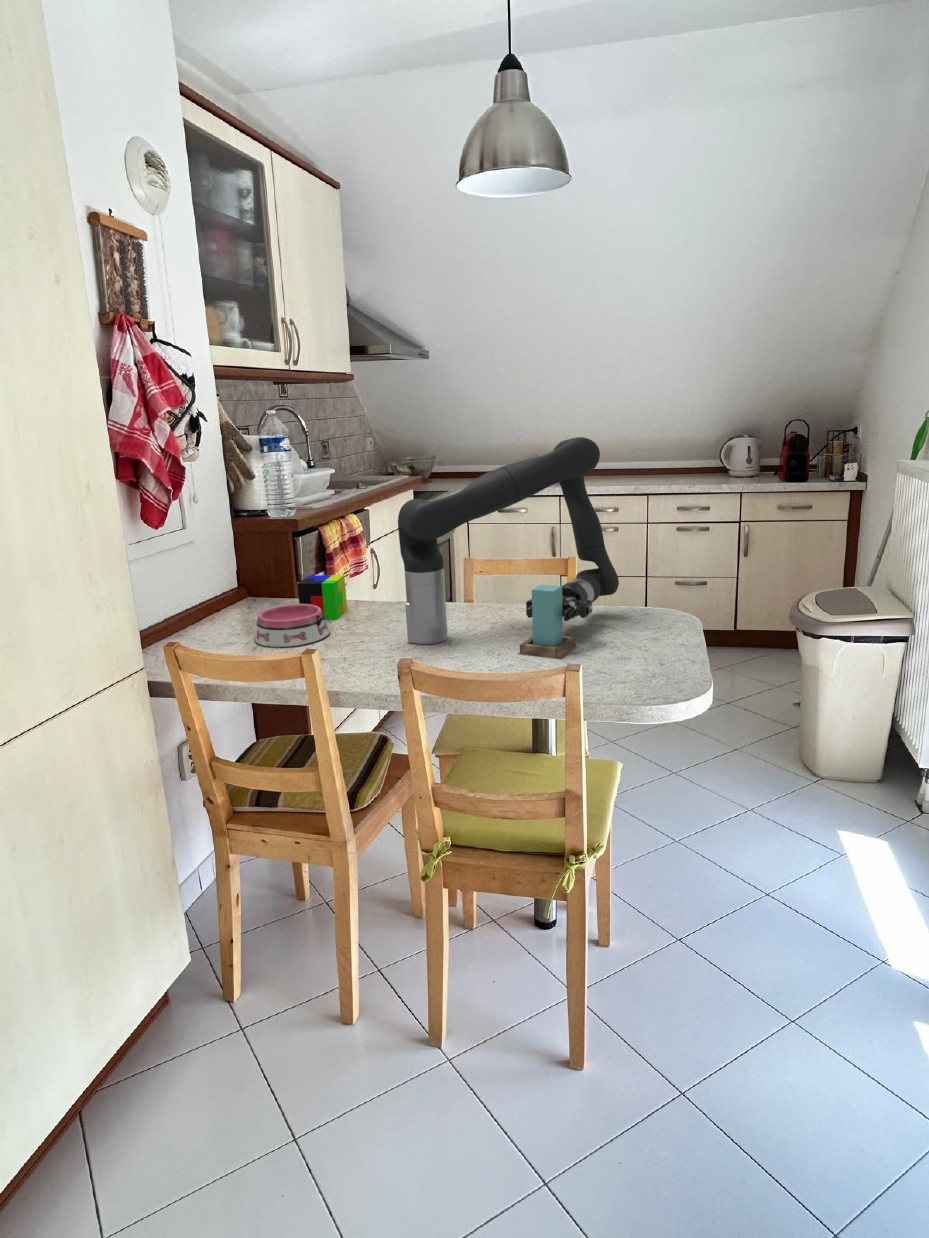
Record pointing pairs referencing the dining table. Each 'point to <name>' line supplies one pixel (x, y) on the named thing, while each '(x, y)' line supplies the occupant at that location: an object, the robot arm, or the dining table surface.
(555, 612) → the block
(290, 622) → the dog bowl
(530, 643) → the square wooden tray
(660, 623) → the dining table surface
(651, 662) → the dining table surface
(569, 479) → the robot arm
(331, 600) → the puzzle toy
